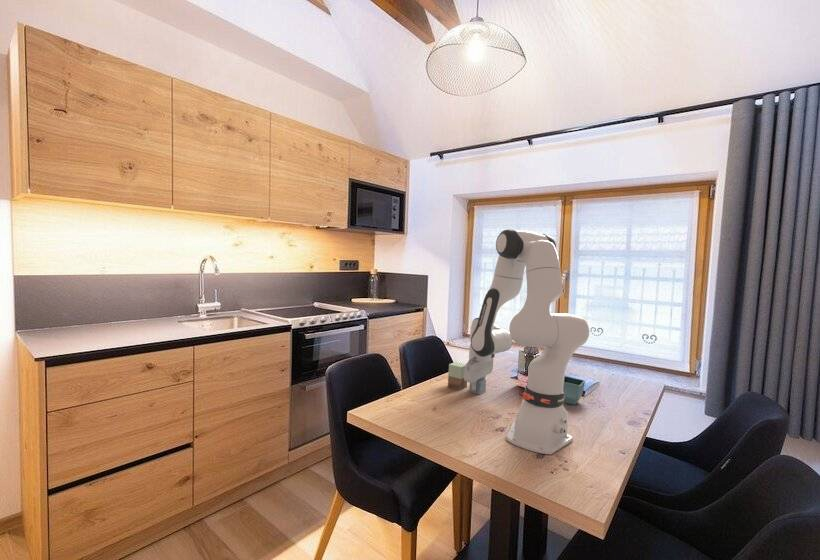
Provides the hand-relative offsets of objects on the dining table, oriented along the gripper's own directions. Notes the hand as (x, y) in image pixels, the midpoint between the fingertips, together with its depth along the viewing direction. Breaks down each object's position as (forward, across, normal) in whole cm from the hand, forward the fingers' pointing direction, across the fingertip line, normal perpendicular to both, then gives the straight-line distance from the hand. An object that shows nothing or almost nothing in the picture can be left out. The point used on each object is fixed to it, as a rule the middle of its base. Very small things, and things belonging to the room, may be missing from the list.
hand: (477, 387), depth 159 cm
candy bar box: (+2, +20, -15) cm, 25 cm away
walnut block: (+2, -1, +9) cm, 9 cm away
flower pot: (+2, +16, -33) cm, 37 cm away
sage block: (-3, -1, +9) cm, 10 cm away
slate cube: (+2, 0, 0) cm, 2 cm away
